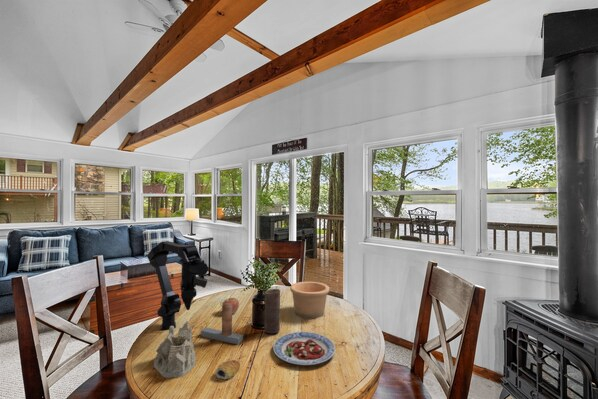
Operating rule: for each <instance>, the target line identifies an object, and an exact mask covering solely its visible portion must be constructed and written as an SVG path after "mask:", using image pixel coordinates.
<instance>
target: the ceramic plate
mask: <svg viewBox="0 0 598 399" xmlns="http://www.w3.org/2000/svg"><path fill="white" fill-rule="evenodd" d="M272 348H273V352H274V353H275V355H276V356H277V357H278V358H279V359H281V360H282V361H285V362H287V363H289V364H293V365H300V366H313V365H318V364H321V363H322V364H323V363H325V362H327V361H328V360H330V359H332V357H333V356H334V355H335V352H336V346H335V343H334V342H333V341H332V340H331V339H330V338H329V337H326V336H325V335H322V334H320V333H316V332H311V331H295V332H290V333H287V334H283V335H282V336H280V337H279V338H277V339H276V341H275V342H274V343H273V347H272Z"/></svg>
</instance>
